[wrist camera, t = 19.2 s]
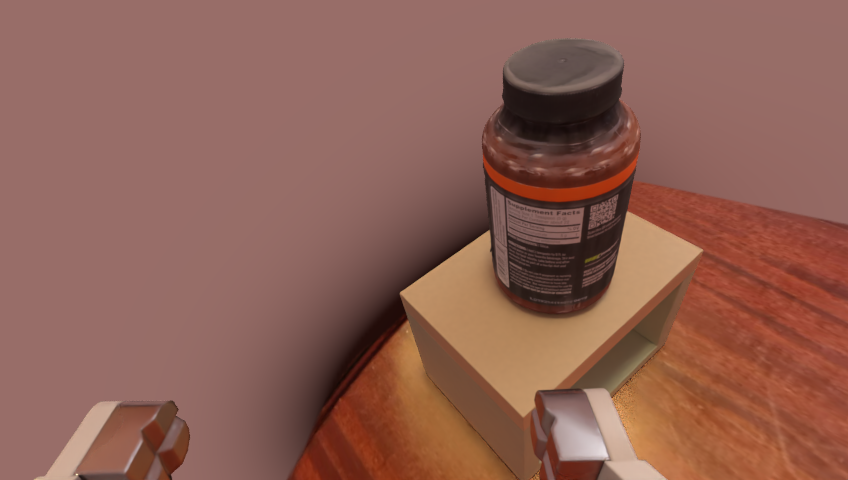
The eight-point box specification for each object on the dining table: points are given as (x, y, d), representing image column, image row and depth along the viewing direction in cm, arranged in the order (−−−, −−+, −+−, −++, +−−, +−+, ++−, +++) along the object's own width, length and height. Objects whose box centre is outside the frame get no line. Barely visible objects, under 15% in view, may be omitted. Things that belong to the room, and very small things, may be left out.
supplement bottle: (524, 219, 26) (524, 19, 18) (629, 254, 23) (683, 31, 15) (471, 290, 23) (443, 86, 15) (584, 340, 20) (622, 118, 12)
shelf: (524, 485, 24) (523, 417, 18) (425, 373, 30) (399, 293, 24) (665, 343, 29) (704, 249, 22) (556, 269, 34) (562, 178, 28)
